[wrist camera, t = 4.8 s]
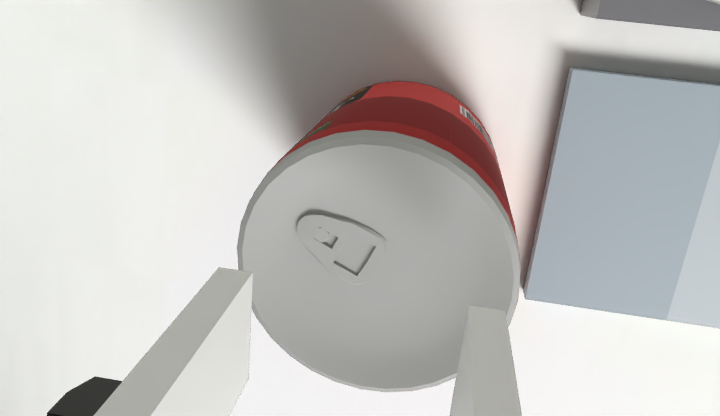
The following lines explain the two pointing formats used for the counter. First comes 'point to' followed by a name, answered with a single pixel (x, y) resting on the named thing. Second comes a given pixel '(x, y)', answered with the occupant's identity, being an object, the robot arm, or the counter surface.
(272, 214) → the canned food
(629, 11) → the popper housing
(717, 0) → the dome button
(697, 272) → the flat rectangular panel
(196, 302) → the robot arm
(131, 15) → the counter surface
